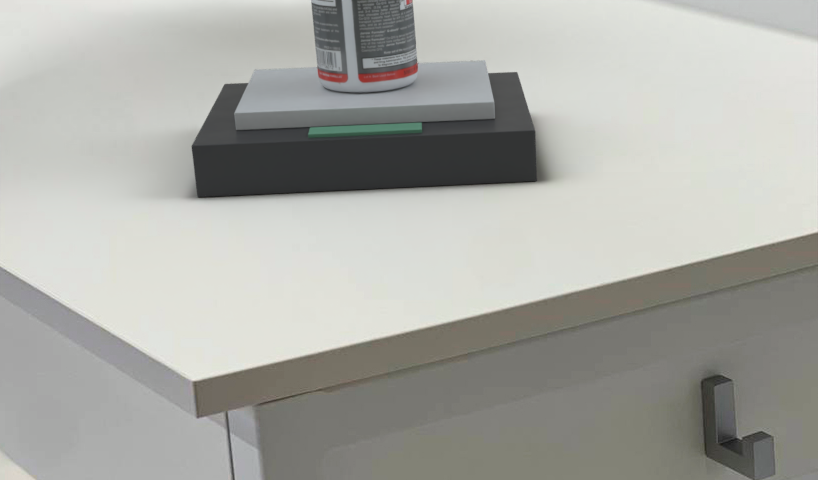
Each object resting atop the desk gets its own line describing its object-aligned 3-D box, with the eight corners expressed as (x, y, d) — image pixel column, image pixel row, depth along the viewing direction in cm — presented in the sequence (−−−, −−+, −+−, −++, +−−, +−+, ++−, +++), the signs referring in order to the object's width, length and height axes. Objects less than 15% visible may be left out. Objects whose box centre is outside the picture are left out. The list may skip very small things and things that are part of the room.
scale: (197, 197, 86) (189, 126, 84) (229, 128, 100) (222, 67, 99) (537, 181, 87) (534, 111, 86) (519, 115, 102) (516, 55, 101)
